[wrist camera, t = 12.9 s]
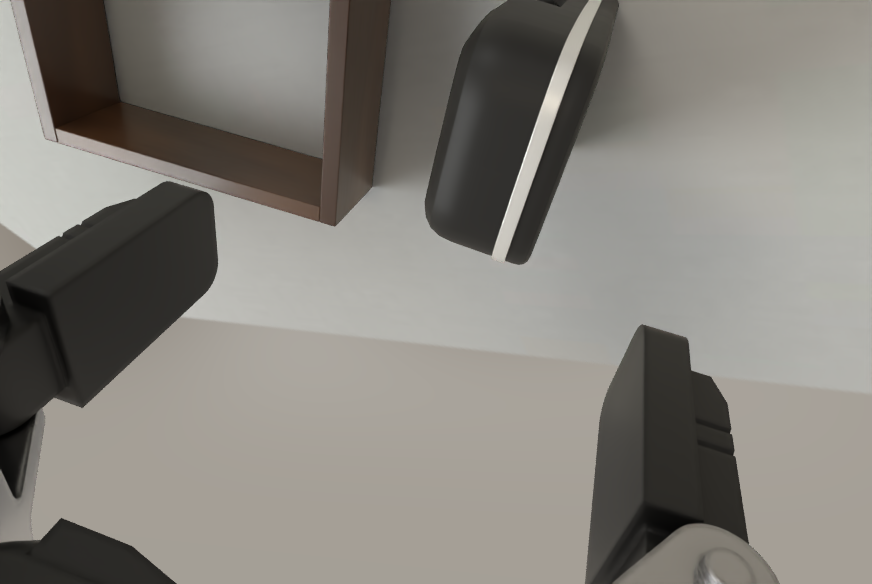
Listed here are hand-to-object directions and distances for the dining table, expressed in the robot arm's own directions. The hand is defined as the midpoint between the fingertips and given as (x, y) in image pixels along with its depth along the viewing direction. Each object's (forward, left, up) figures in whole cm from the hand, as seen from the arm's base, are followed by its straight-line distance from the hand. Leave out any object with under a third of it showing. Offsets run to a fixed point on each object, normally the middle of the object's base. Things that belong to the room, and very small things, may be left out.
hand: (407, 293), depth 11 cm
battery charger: (0, 0, -18) cm, 18 cm away
